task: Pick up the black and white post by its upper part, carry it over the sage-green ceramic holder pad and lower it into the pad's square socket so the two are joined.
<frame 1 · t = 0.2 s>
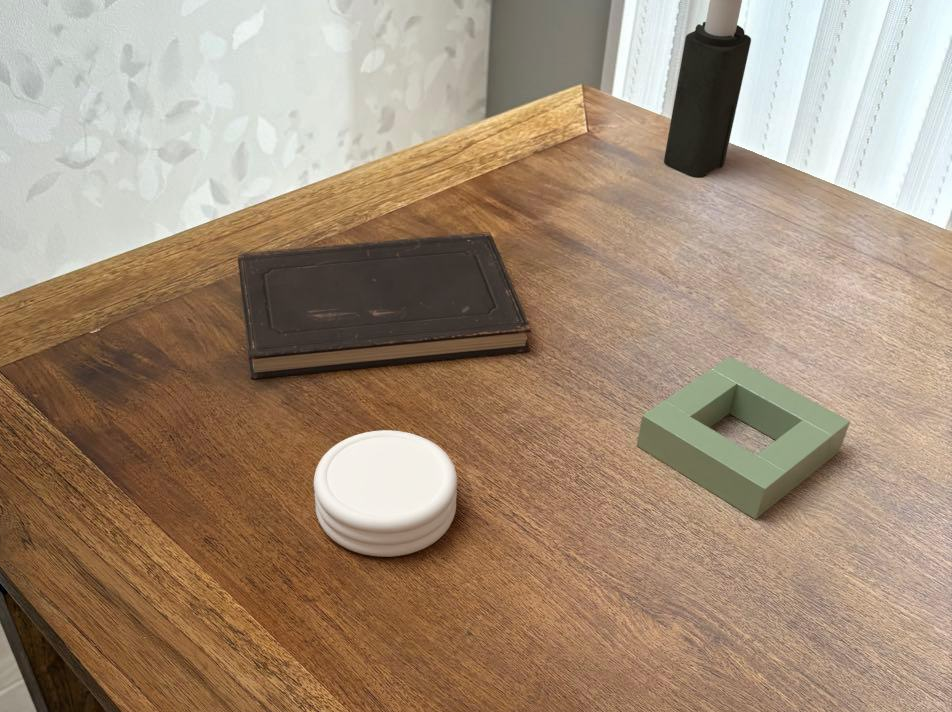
hardcover book: (378, 312, 97), on the table
white stacked coasters: (386, 511, 79), on the table
holder pad: (737, 448, 84), on the table
black and white post: (693, 164, 115), on the table
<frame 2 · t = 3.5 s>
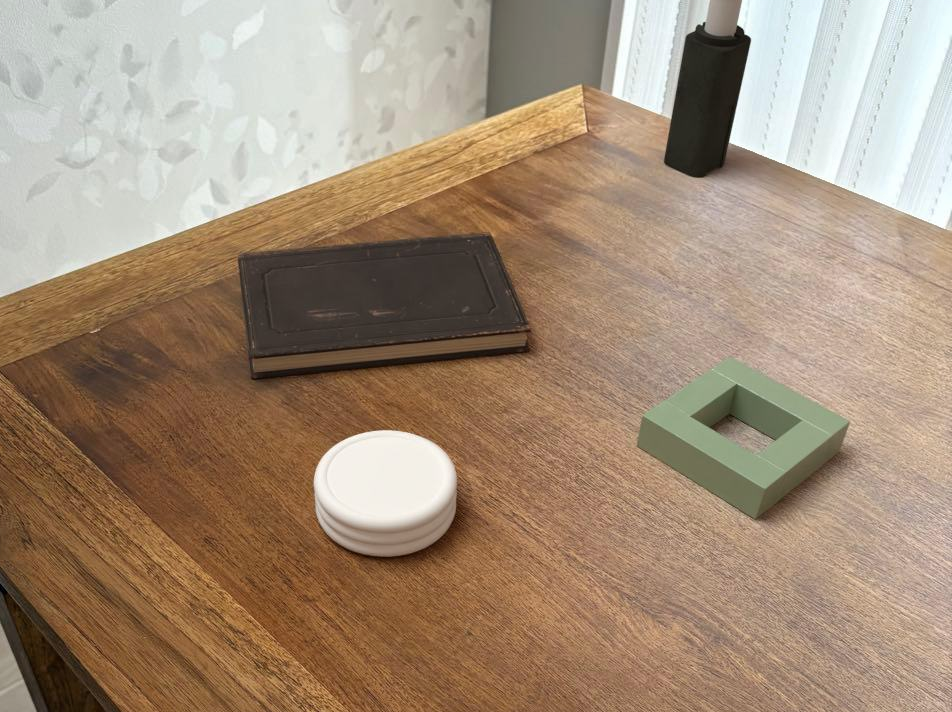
black and white post: (693, 164, 115), on the table, touching gripper
everything else where it was.
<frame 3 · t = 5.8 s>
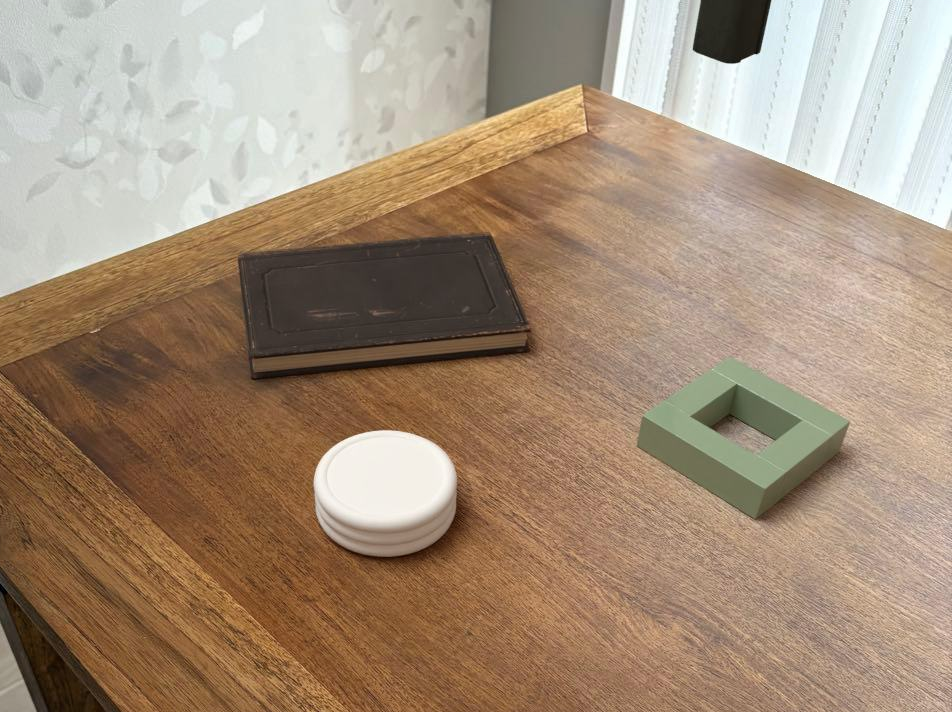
black and white post: (725, 52, 103), point 13 cm above the table, touching gripper
everything else where it was.
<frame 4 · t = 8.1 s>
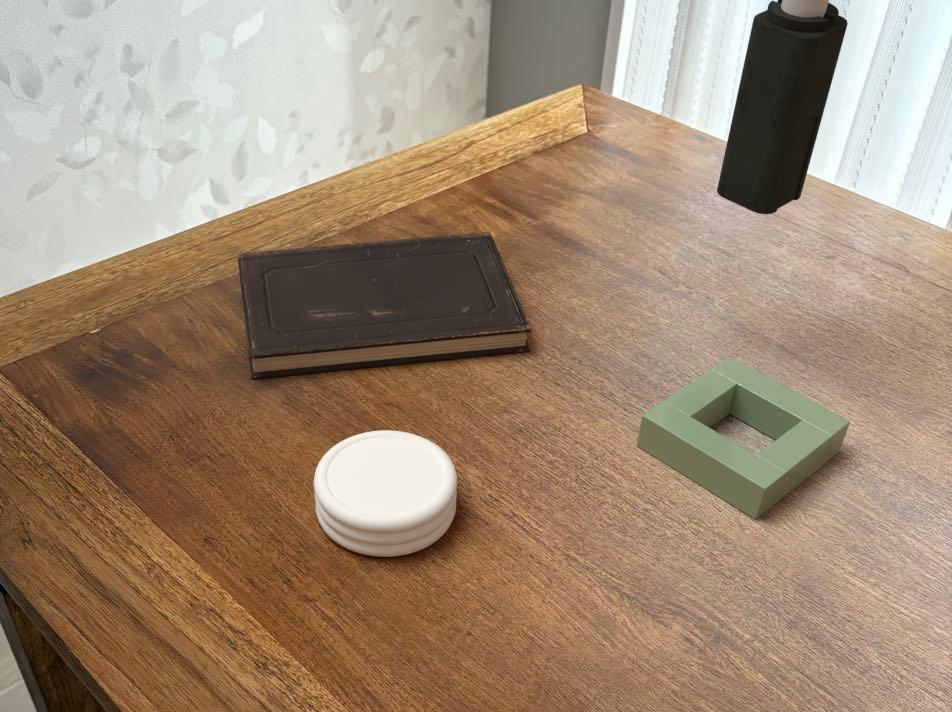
black and white post: (757, 195, 84), point 13 cm above the table, touching gripper
everything else where it was.
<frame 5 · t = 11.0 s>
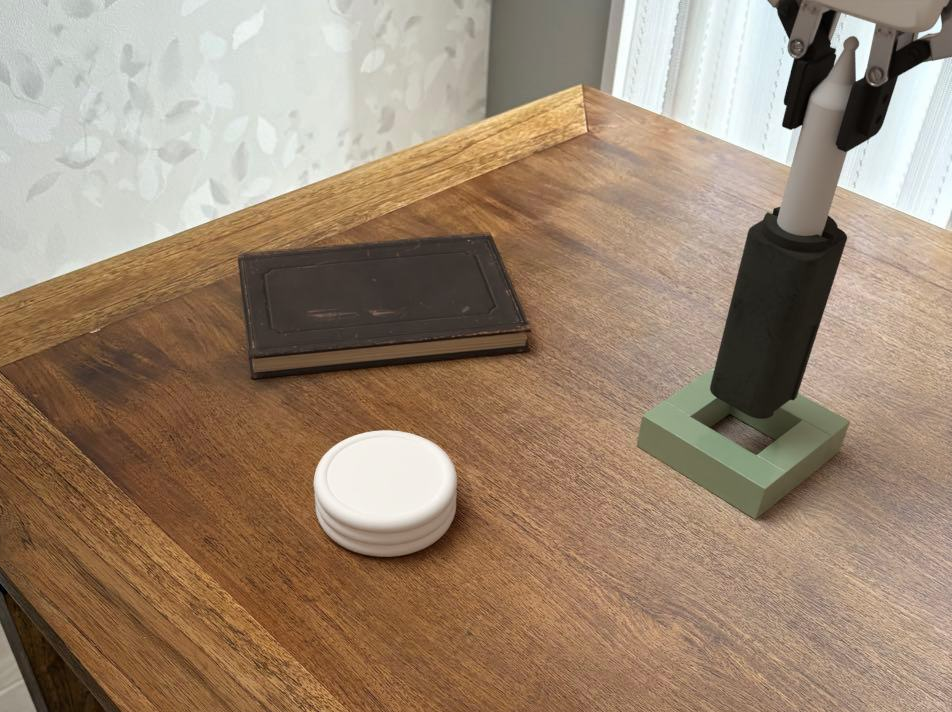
hand: (827, 129, 66), 25 cm above the table, tool pointing down, fingers closed on black and white post, 3 cm apart
black and white post: (752, 393, 80), point 5 cm above the table, touching gripper
everything else where it was.
when the fingers open (20 cm above the table, at t = 13.0 s): black and white post stays where it is, resting in holder pad.
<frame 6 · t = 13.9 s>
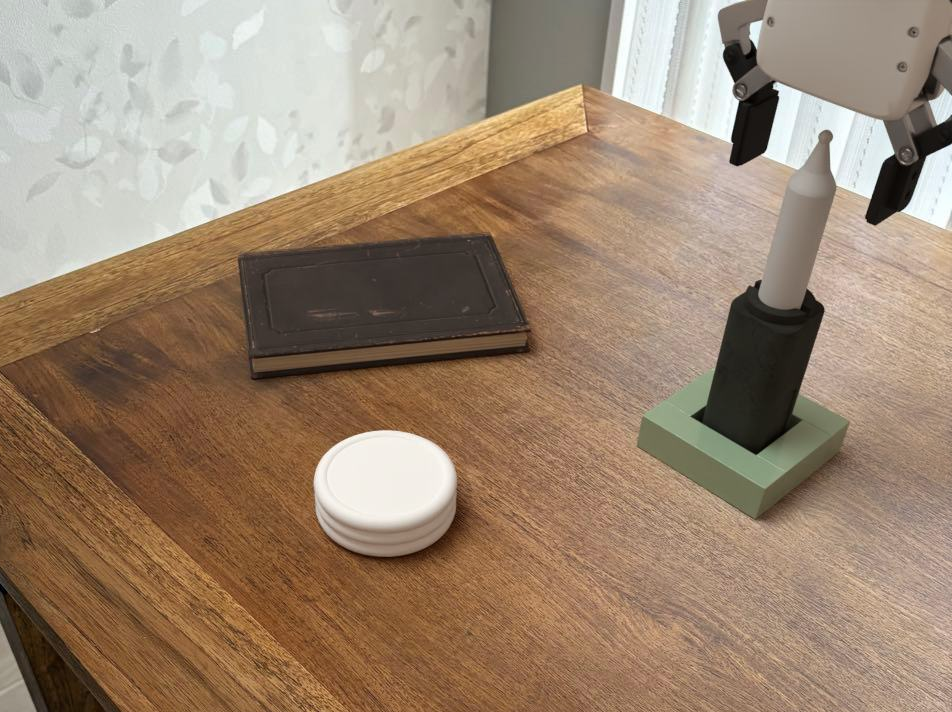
hand: (812, 186, 69), 21 cm above the table, tool pointing down, fingers open, 9 cm apart
black and white post: (737, 450, 84), resting in holder pad
everything else where it was.
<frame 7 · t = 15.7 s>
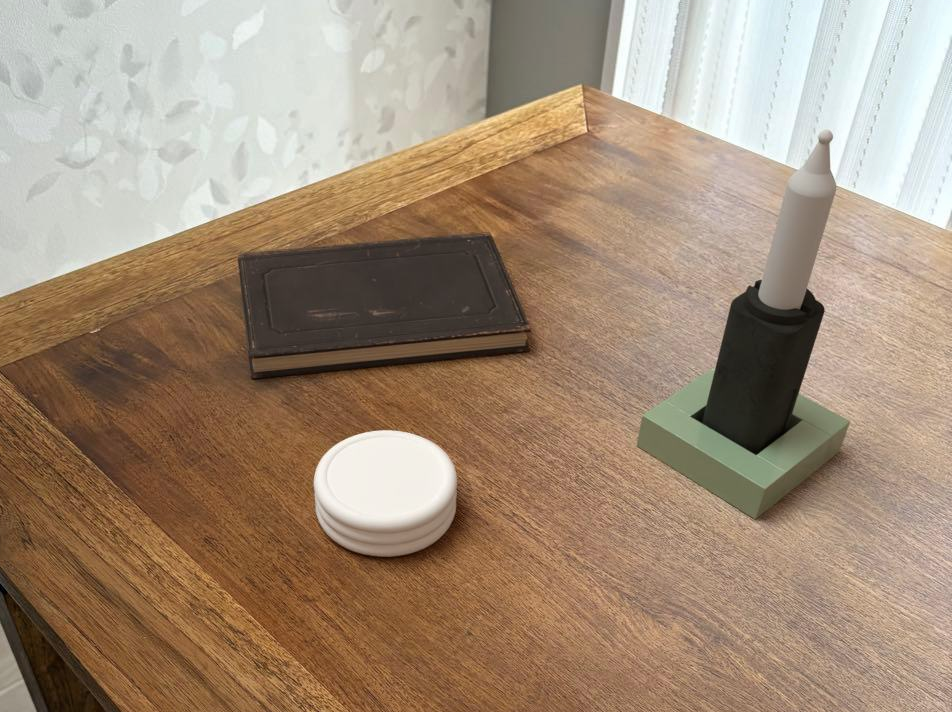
nothing on the table moved.
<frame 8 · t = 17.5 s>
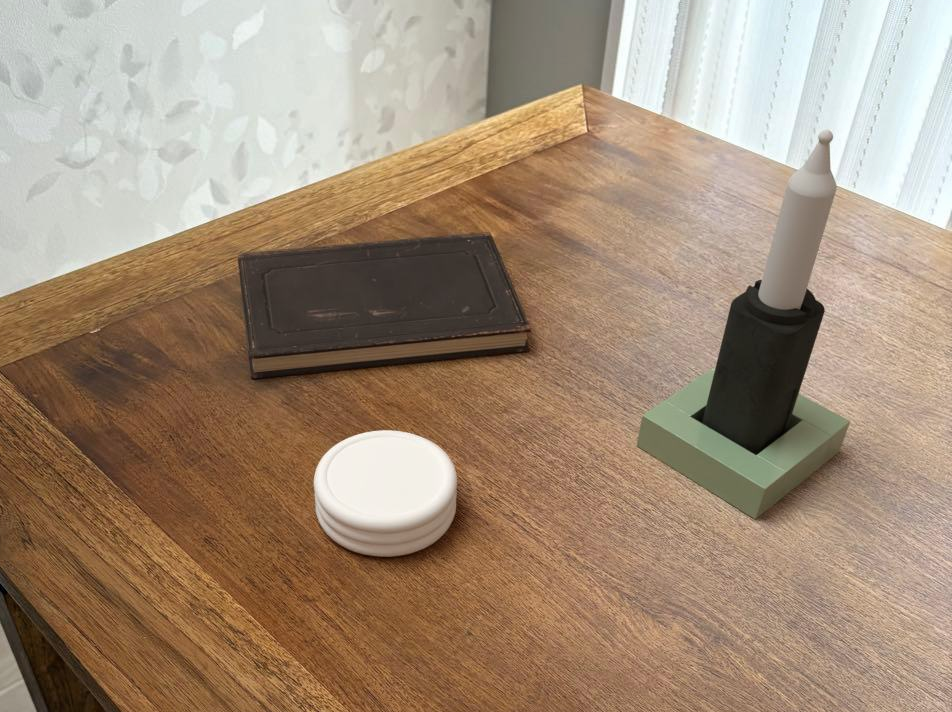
nothing on the table moved.
at the end: black and white post 0.0 cm off-centre in the holder pad, point 0.0 cm above the holder pad's base; black and white post tilted 0° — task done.
